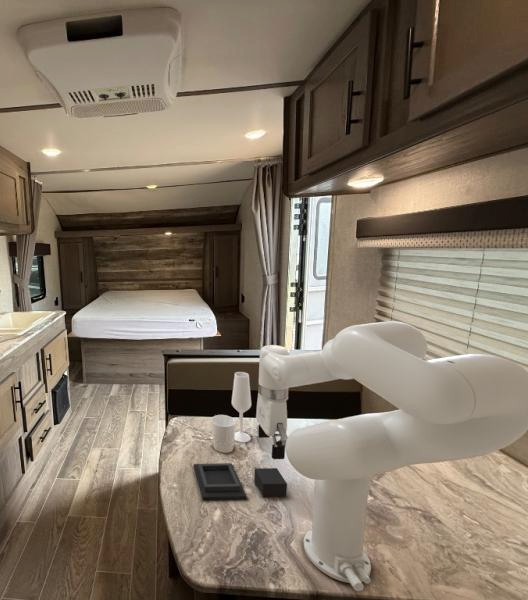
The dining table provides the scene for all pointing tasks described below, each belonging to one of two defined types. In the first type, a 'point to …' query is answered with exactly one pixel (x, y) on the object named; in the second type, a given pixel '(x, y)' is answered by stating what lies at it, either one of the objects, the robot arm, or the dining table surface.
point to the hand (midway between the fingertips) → (270, 447)
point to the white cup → (223, 433)
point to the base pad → (218, 482)
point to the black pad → (270, 482)
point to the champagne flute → (241, 402)
